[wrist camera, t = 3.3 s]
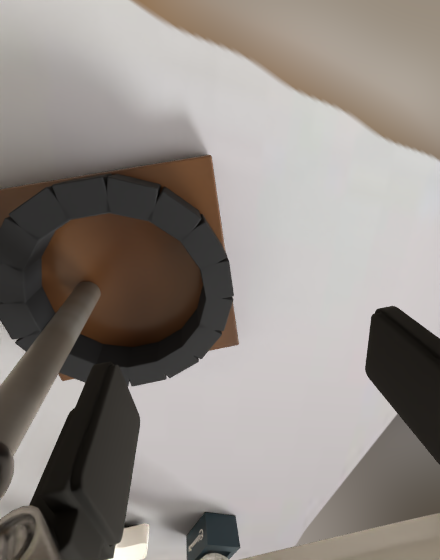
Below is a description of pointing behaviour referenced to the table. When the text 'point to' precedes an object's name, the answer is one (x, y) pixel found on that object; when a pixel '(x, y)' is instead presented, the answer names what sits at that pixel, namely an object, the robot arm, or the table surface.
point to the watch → (213, 538)
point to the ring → (130, 203)
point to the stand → (108, 288)
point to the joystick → (132, 543)
